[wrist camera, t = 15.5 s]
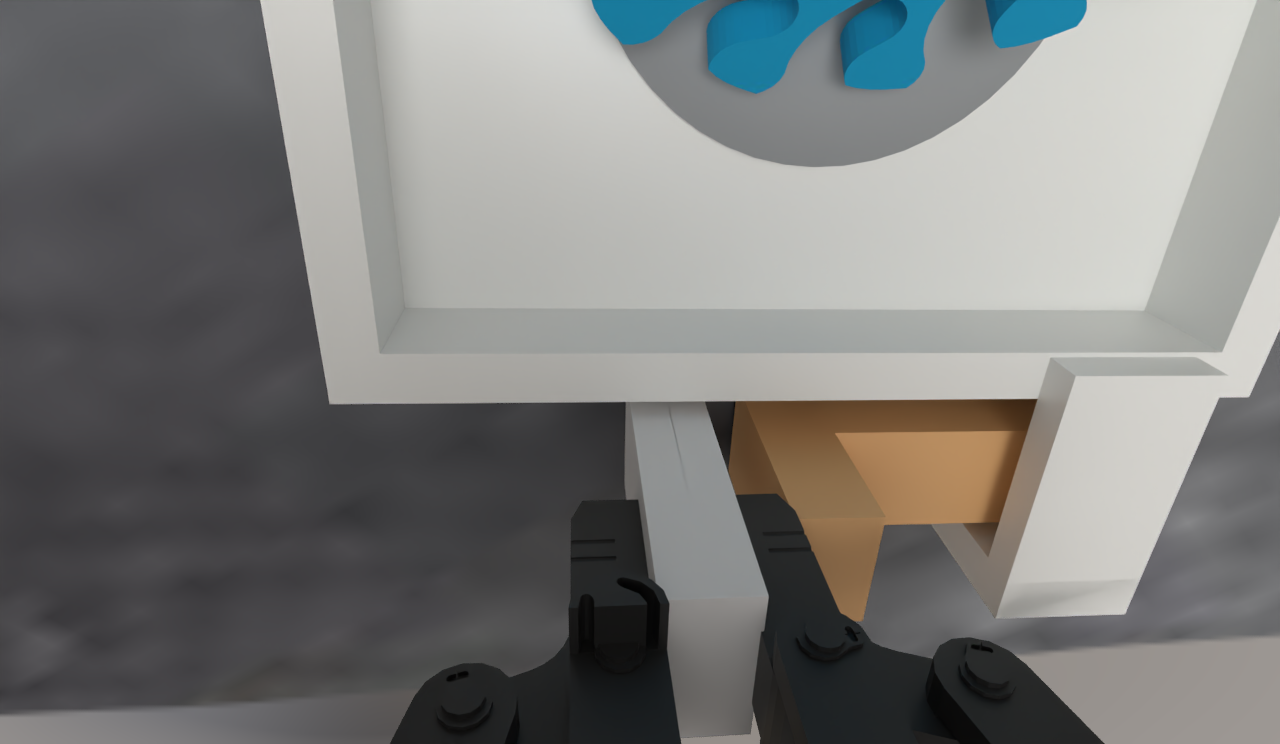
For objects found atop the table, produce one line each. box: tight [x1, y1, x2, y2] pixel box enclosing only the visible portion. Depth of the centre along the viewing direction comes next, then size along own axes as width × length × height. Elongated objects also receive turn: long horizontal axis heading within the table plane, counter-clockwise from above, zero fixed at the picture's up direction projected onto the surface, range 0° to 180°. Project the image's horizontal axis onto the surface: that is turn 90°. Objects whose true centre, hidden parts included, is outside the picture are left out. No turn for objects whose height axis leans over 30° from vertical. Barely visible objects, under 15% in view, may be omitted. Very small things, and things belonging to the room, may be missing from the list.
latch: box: [728, 399, 1038, 621], centre depth 16 cm, size 9×2×5 cm, turn 88°
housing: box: [260, 0, 1280, 619], centre depth 13 cm, size 18×22×4 cm
